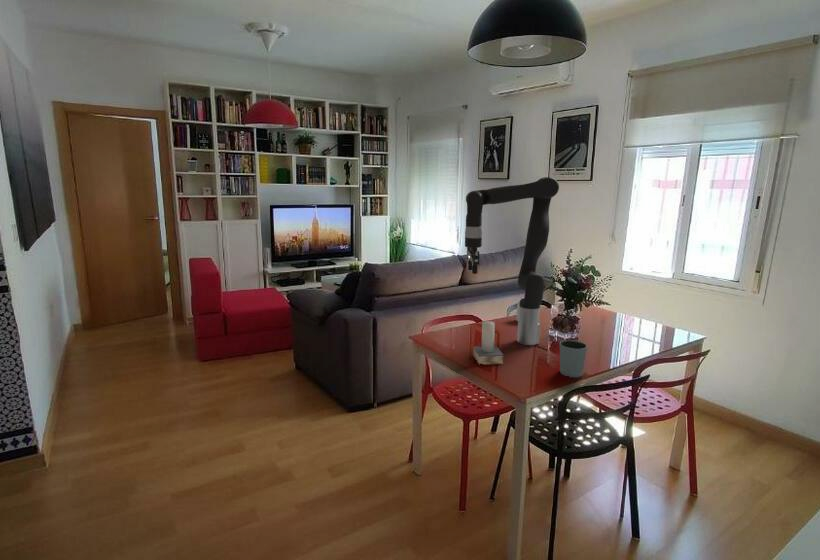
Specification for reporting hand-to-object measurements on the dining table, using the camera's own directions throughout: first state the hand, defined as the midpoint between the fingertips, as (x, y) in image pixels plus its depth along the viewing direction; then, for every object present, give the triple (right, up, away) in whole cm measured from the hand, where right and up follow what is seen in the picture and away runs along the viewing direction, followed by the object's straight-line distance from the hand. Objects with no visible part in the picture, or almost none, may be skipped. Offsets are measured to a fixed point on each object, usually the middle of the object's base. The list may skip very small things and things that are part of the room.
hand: (472, 271), depth 207 cm
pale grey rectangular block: (+4, -33, -17) cm, 38 cm away
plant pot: (+35, -40, -29) cm, 61 cm away
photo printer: (+33, -26, +35) cm, 55 cm away
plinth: (+4, -37, -16) cm, 41 cm away
